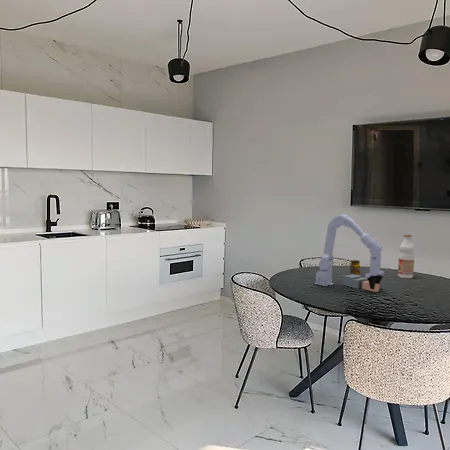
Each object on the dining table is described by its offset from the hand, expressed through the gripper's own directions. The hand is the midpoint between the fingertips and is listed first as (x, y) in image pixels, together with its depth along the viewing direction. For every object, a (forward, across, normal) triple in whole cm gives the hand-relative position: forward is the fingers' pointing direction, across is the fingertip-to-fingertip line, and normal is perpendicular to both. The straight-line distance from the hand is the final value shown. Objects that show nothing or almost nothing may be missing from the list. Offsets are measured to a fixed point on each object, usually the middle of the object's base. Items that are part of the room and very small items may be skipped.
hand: (374, 288), depth 255 cm
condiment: (+2, +15, +26) cm, 30 cm away
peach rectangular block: (+1, 0, +2) cm, 3 cm away
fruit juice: (+2, +49, +12) cm, 50 cm away
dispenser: (+1, 0, +14) cm, 14 cm away
